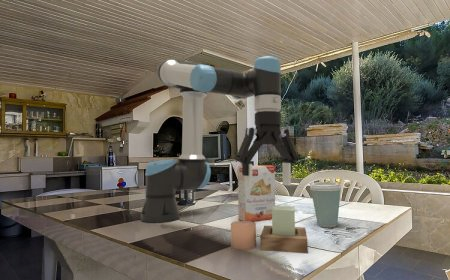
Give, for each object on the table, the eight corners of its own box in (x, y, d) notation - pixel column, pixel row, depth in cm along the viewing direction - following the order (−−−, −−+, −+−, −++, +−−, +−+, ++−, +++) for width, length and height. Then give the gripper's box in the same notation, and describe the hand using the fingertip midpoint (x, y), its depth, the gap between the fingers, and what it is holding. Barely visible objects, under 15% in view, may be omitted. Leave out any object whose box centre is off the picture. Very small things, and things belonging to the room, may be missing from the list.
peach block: (228, 248, 77) (228, 226, 77) (233, 241, 84) (233, 220, 84) (254, 250, 76) (254, 227, 76) (257, 242, 82) (257, 221, 83)
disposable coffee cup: (339, 230, 94) (337, 184, 95) (306, 226, 100) (305, 183, 101) (345, 224, 103) (344, 182, 104) (315, 220, 109) (314, 180, 110)
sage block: (272, 239, 78) (272, 209, 79) (273, 233, 84) (273, 206, 84) (295, 240, 77) (294, 210, 77) (294, 234, 83) (294, 206, 83)
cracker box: (246, 223, 106) (245, 166, 107) (237, 219, 111) (237, 165, 112) (276, 218, 112) (275, 165, 114) (267, 216, 118) (266, 164, 119)
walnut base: (260, 249, 76) (260, 236, 76) (264, 237, 87) (264, 225, 88) (307, 253, 73) (307, 239, 73) (305, 239, 85) (305, 227, 85)
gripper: (237, 106, 73) (237, 190, 72) (309, 113, 85) (310, 185, 84) (223, 110, 79) (223, 187, 78) (291, 116, 92) (292, 182, 91)
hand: (268, 186), depth 81 cm, fingers open, 13 cm apart
